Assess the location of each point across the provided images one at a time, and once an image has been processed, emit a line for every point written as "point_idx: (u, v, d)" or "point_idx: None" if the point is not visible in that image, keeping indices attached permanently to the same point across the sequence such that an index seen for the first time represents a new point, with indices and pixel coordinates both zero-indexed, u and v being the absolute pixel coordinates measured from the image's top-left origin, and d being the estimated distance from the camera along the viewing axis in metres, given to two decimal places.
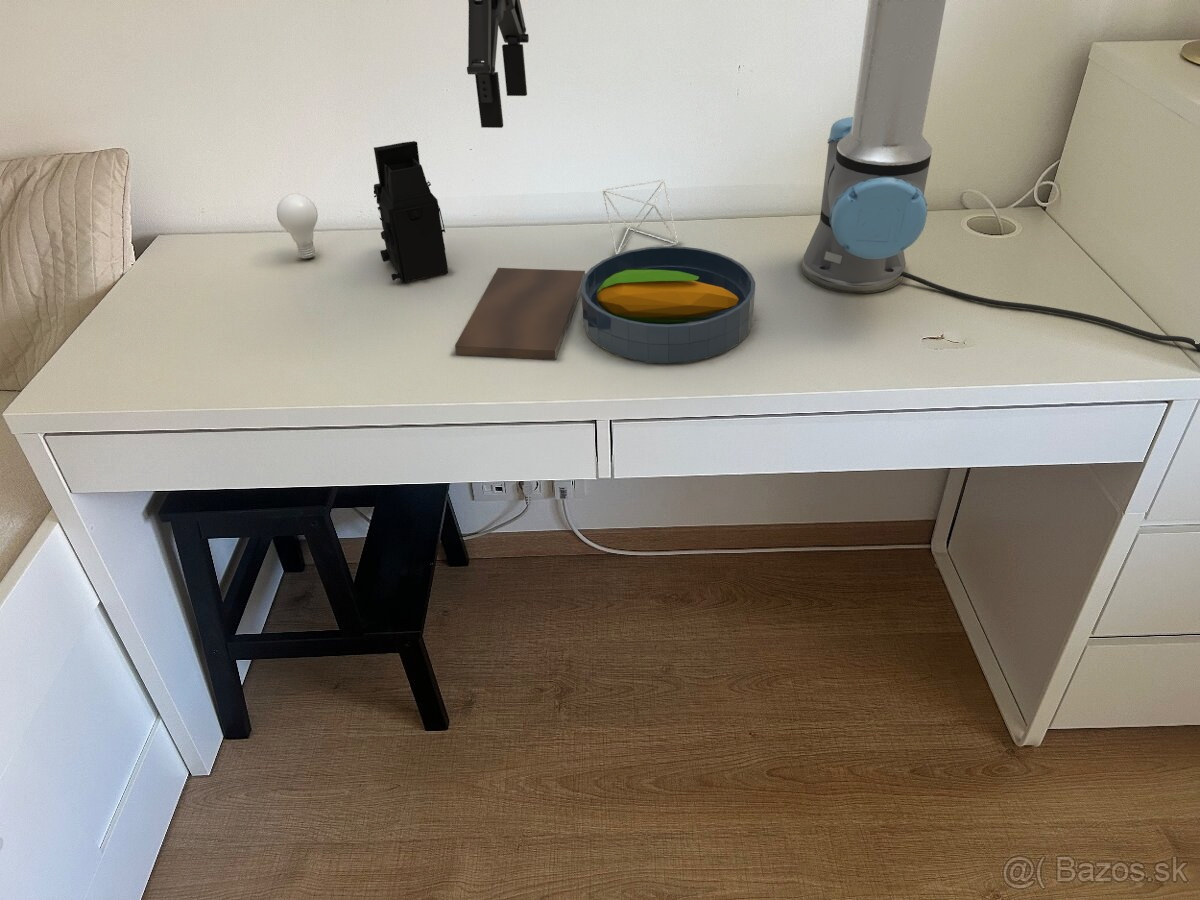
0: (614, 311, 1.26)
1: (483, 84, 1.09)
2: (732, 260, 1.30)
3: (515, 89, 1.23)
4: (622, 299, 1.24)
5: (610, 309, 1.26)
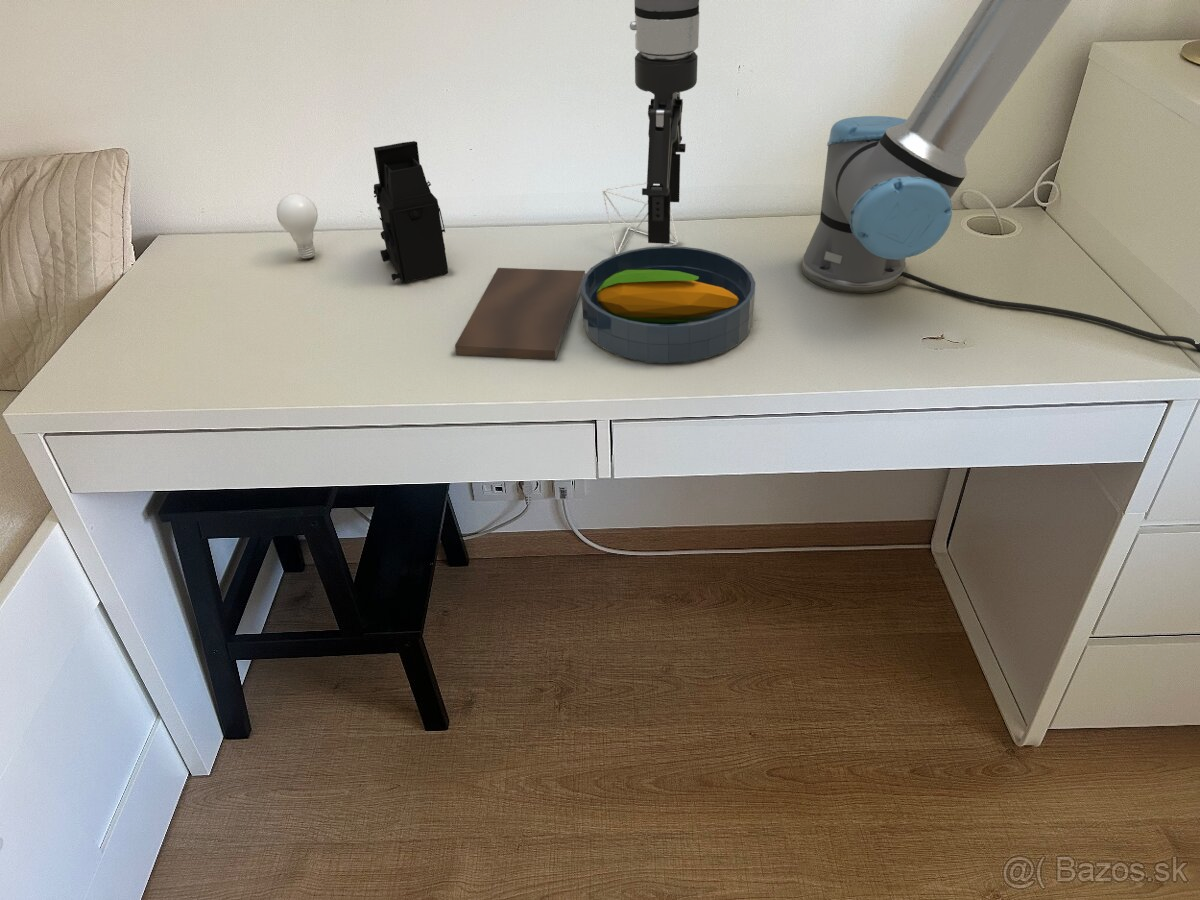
0: (614, 311, 1.26)
1: (657, 205, 1.10)
2: (732, 260, 1.30)
3: None
4: (622, 299, 1.24)
5: (610, 309, 1.26)
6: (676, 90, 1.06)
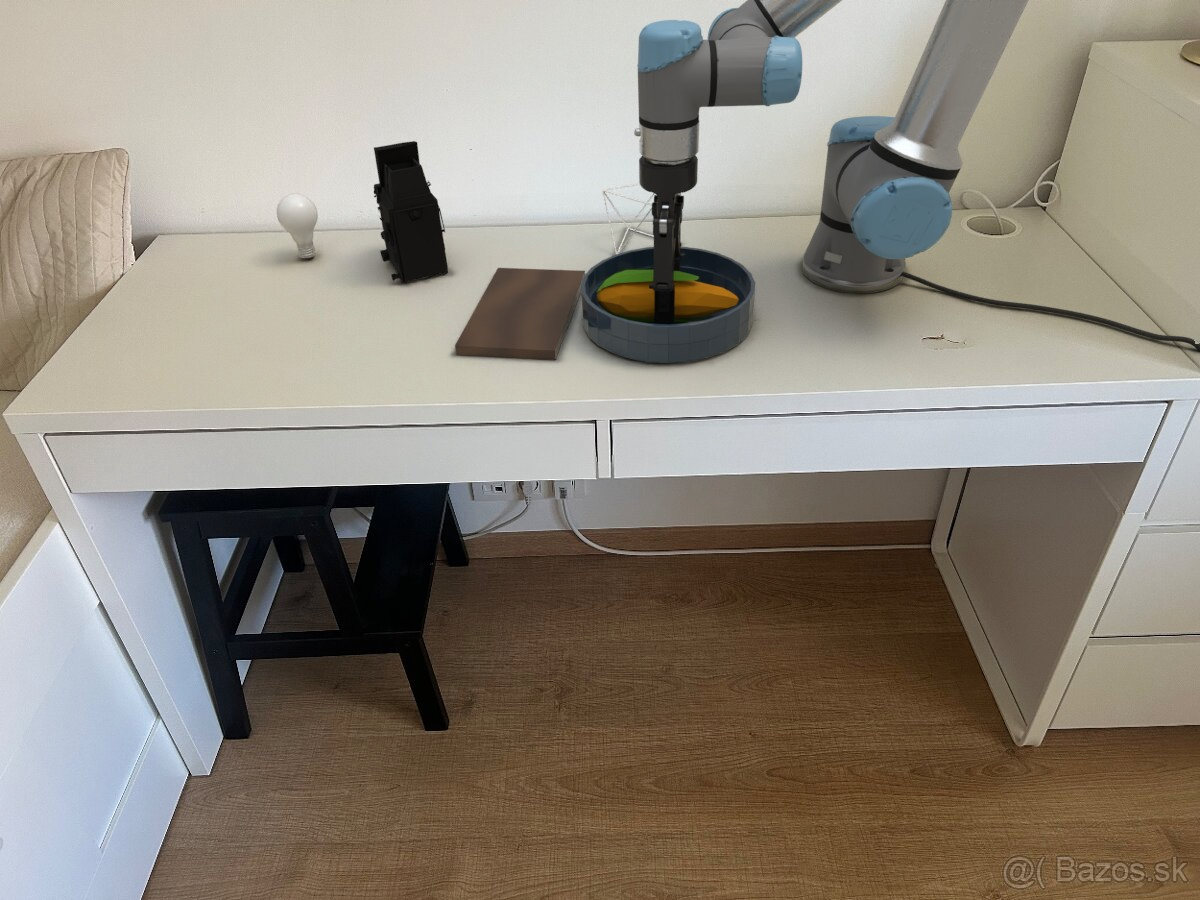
0: (614, 311, 1.26)
1: (662, 297, 1.21)
2: (732, 260, 1.30)
3: None
4: (622, 299, 1.24)
5: (610, 309, 1.26)
6: (678, 192, 1.14)
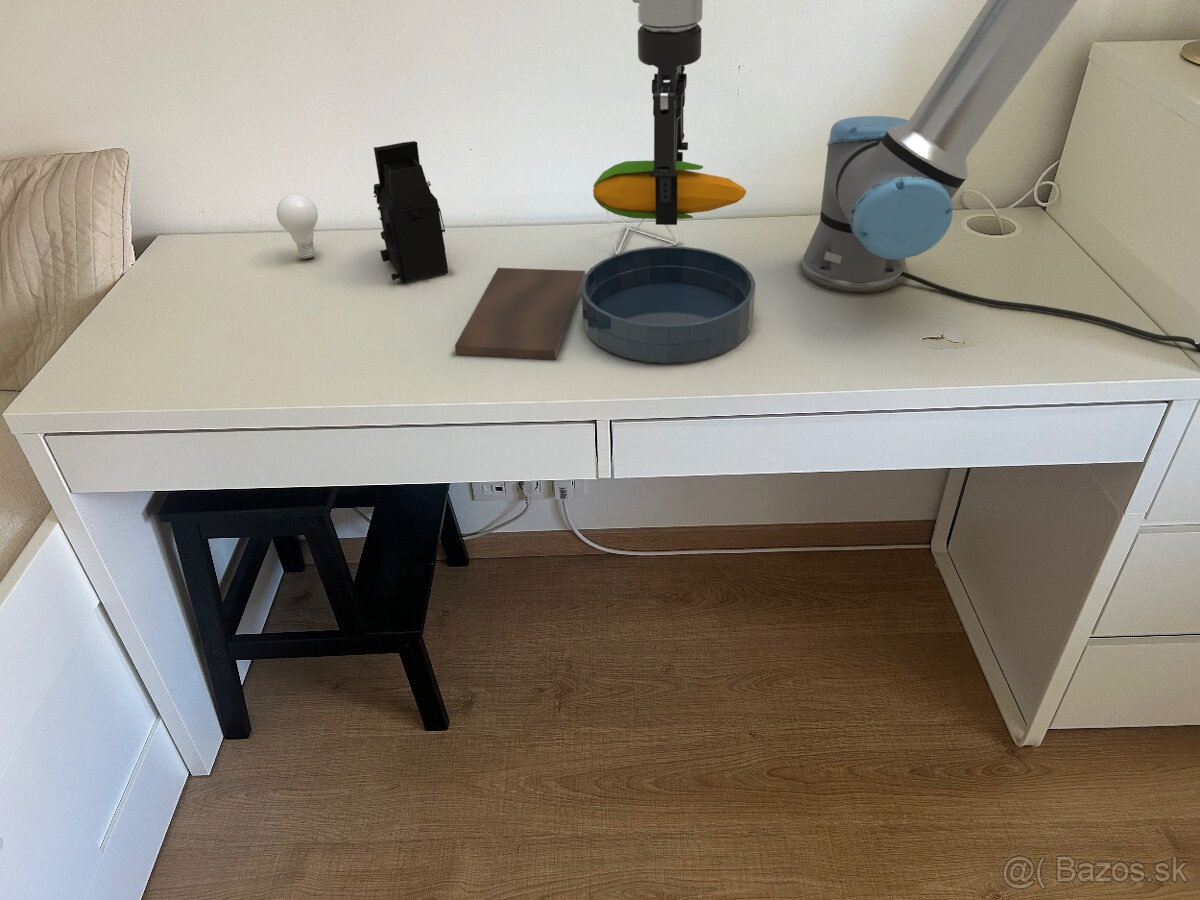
0: (612, 206, 1.17)
1: (664, 186, 1.11)
2: (732, 260, 1.30)
3: None
4: (621, 192, 1.15)
5: (607, 204, 1.17)
6: (680, 63, 1.04)
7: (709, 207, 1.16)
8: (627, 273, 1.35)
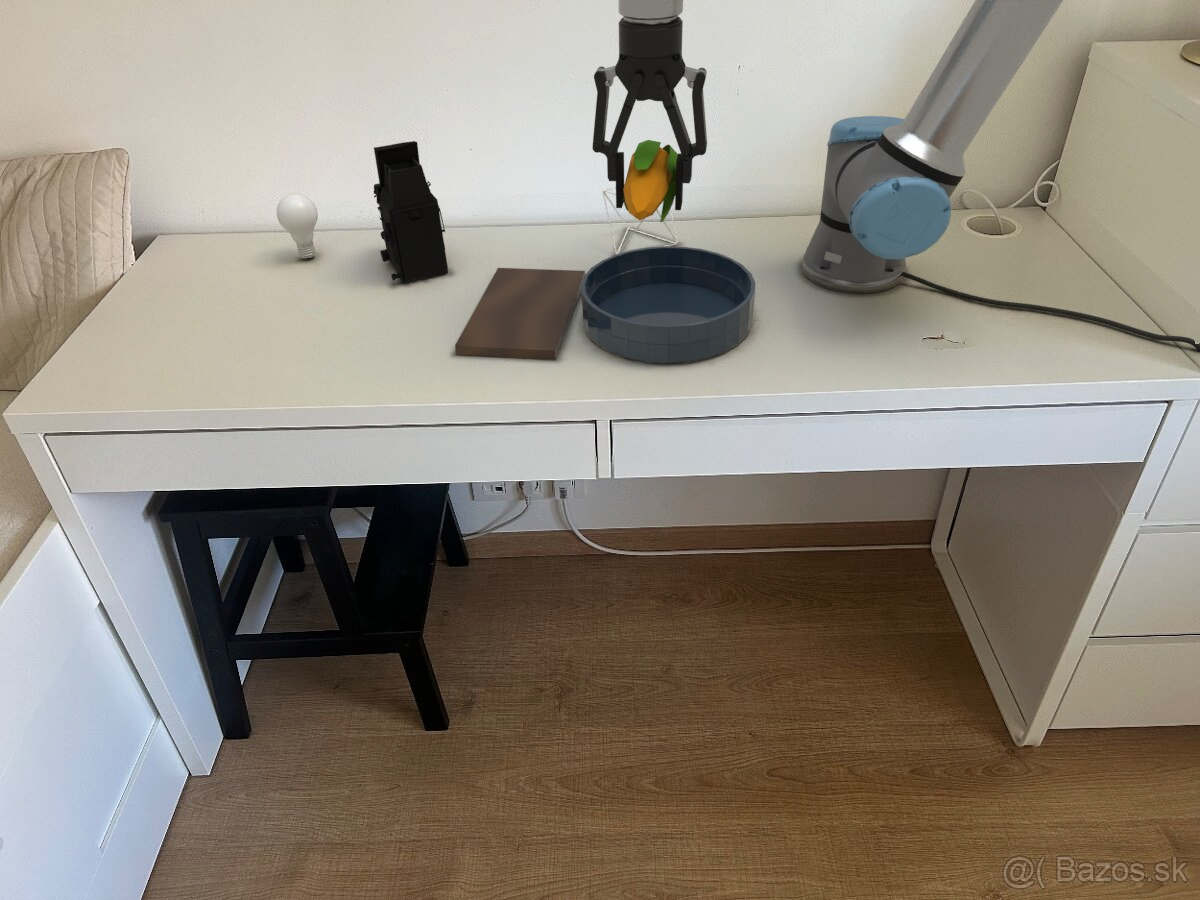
0: None
1: None
2: (732, 260, 1.30)
3: None
4: (630, 160, 1.21)
5: None
6: (620, 51, 1.06)
7: None
8: (627, 273, 1.35)
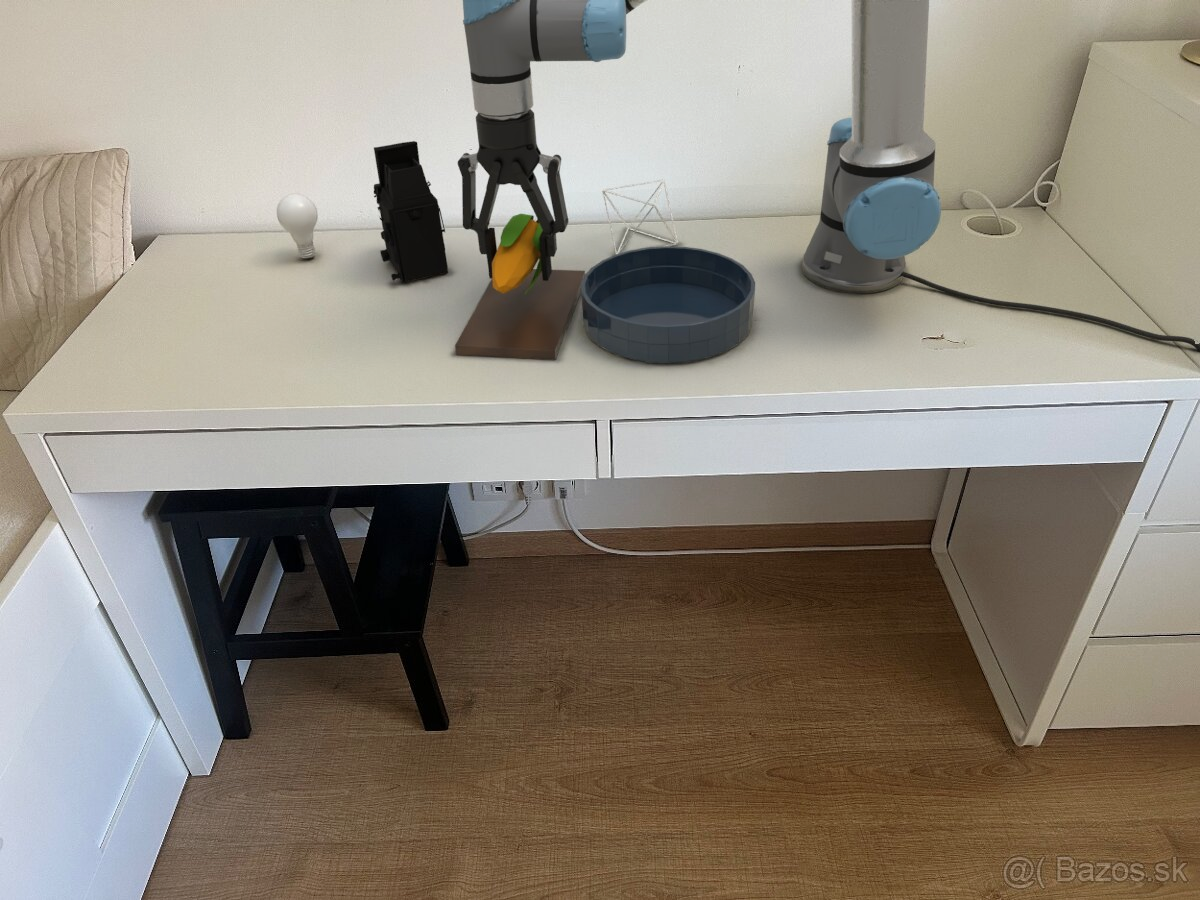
0: None
1: None
2: (732, 260, 1.30)
3: None
4: None
5: None
6: None
7: None
8: (627, 273, 1.35)
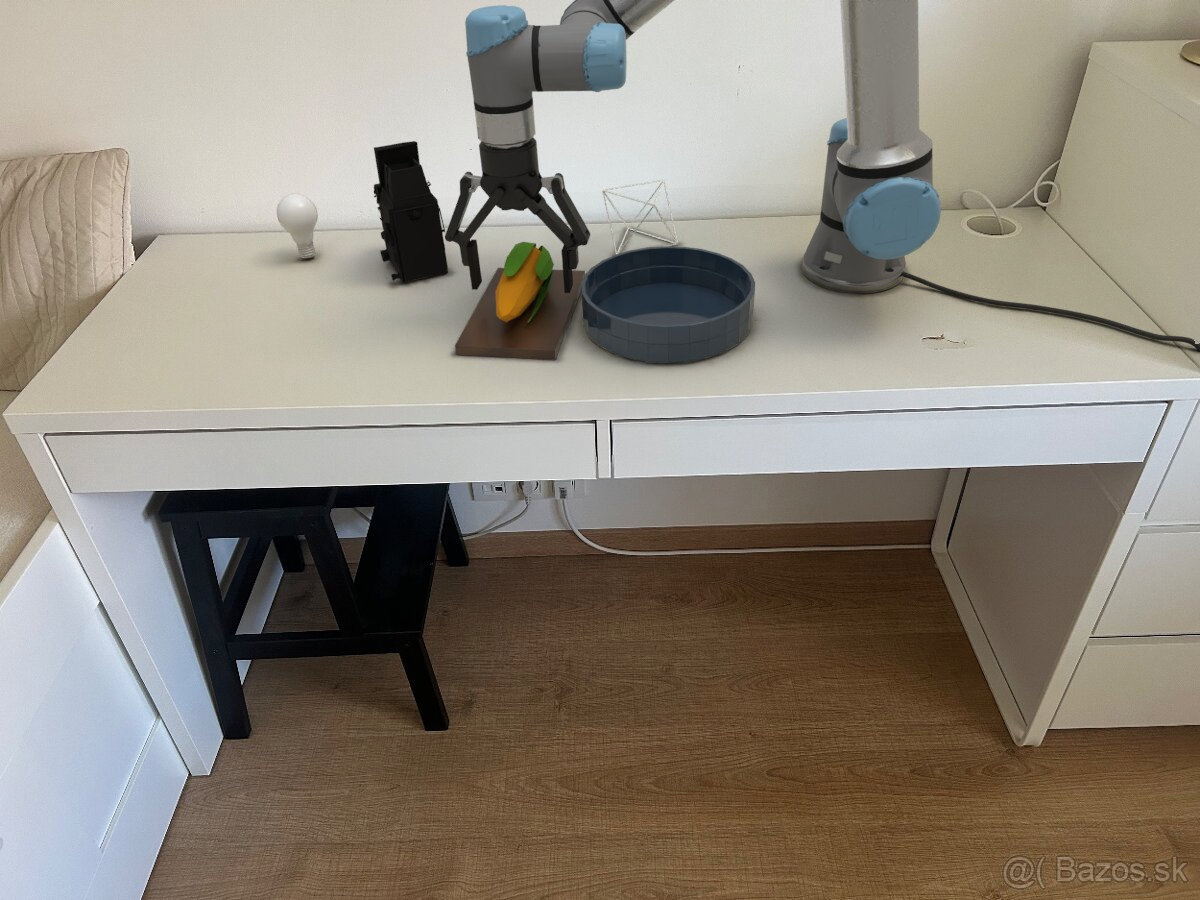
0: None
1: None
2: (732, 260, 1.30)
3: None
4: None
5: None
6: (482, 169, 1.18)
7: None
8: (627, 273, 1.35)
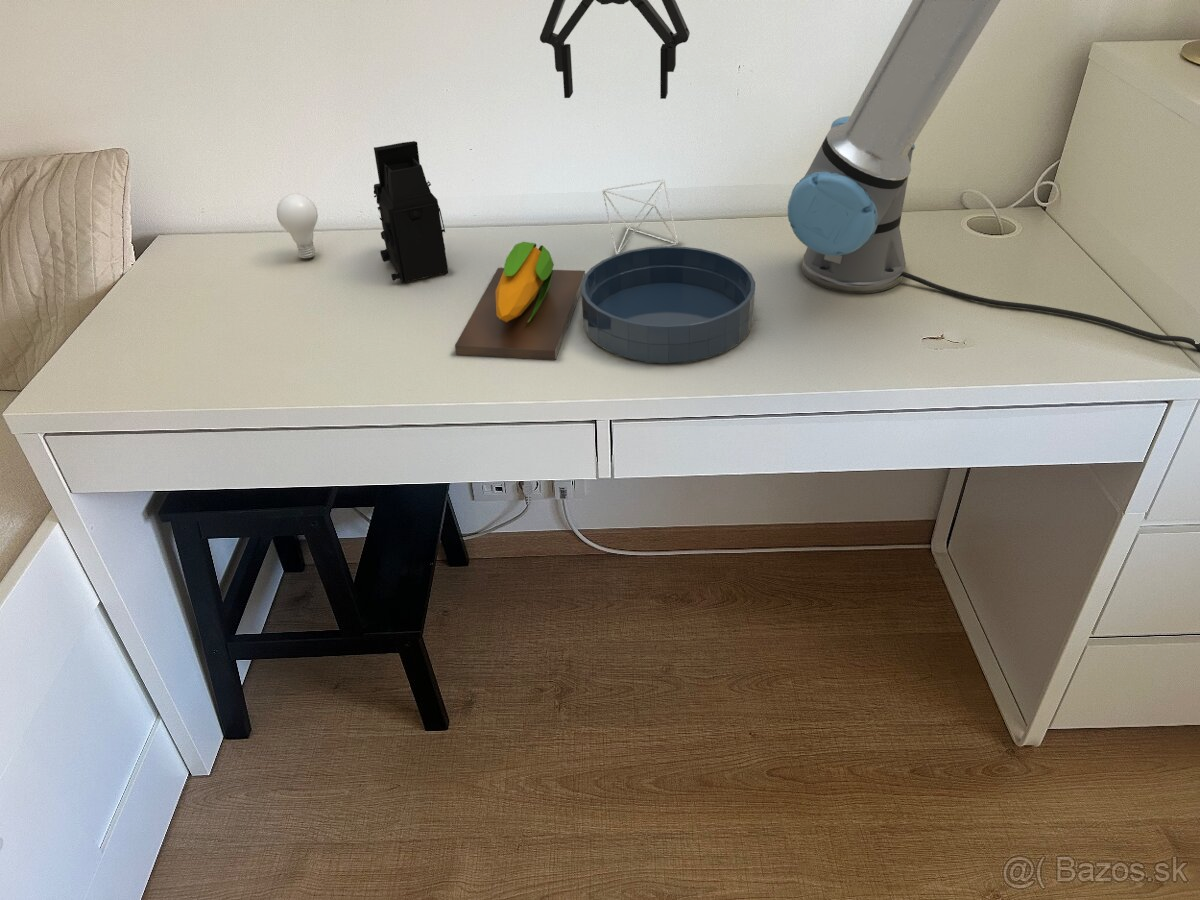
0: None
1: None
2: (732, 260, 1.30)
3: None
4: None
5: None
6: None
7: None
8: (627, 273, 1.35)
